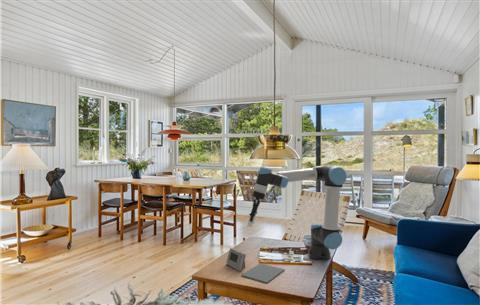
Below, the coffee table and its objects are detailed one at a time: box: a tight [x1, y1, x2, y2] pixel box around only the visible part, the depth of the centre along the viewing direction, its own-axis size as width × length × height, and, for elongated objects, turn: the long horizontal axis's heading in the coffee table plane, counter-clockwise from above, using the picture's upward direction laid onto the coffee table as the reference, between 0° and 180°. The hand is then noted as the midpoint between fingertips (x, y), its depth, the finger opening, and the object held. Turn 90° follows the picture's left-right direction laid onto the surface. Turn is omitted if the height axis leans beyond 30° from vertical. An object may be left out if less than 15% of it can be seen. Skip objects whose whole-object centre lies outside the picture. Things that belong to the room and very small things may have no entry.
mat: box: [240, 262, 286, 284], centre depth 200 cm, size 22×18×1 cm
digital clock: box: [226, 247, 246, 272], centre depth 211 cm, size 16×9×11 cm, turn 25°
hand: (250, 224), depth 200 cm, fingers open, 13 cm apart
